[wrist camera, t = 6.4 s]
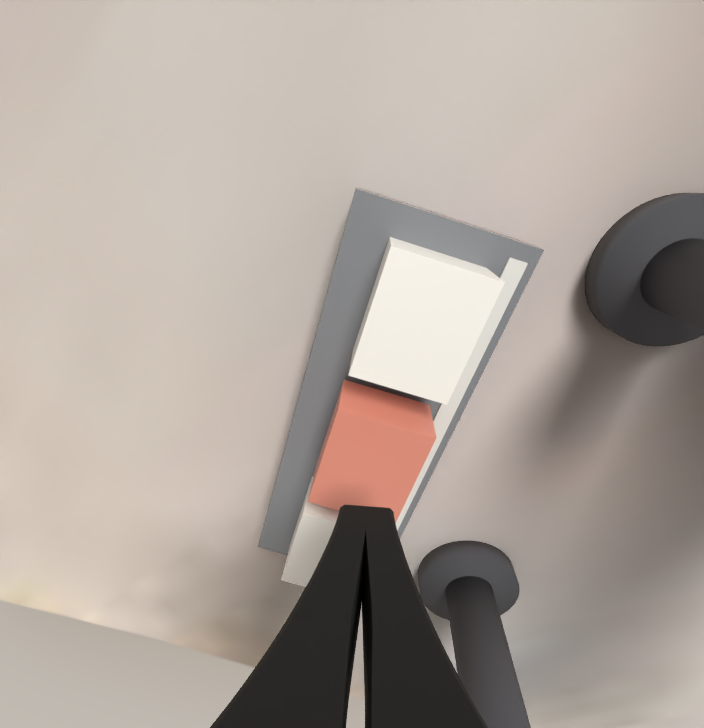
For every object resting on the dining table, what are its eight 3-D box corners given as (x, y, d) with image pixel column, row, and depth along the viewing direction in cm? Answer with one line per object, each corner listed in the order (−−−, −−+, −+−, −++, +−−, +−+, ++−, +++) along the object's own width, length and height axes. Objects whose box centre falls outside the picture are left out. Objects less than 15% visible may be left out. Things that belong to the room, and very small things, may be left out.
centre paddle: (429, 405, 14) (436, 437, 12) (392, 486, 16) (394, 525, 14) (344, 379, 14) (338, 408, 12) (316, 464, 15) (307, 501, 14)
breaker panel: (522, 241, 14) (573, 261, 10) (379, 544, 20) (379, 622, 17) (359, 188, 13) (350, 188, 10) (269, 514, 20) (244, 587, 16)
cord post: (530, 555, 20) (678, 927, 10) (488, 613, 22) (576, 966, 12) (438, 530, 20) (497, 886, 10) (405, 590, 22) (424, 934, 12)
